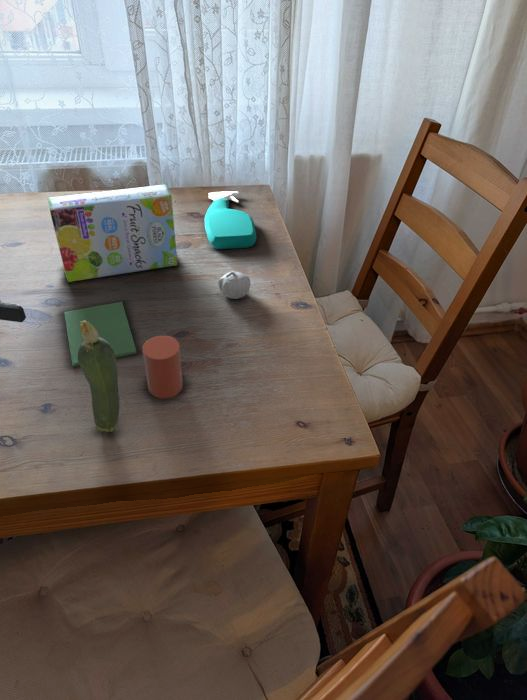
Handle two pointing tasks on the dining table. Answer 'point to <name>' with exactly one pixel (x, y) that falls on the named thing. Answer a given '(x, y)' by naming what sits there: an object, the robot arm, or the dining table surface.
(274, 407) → the dining table surface
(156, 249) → the snack box
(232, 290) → the garlic
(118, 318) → the green mat
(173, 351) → the orange cylinder block
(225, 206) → the spray bottle
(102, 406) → the vegetable
